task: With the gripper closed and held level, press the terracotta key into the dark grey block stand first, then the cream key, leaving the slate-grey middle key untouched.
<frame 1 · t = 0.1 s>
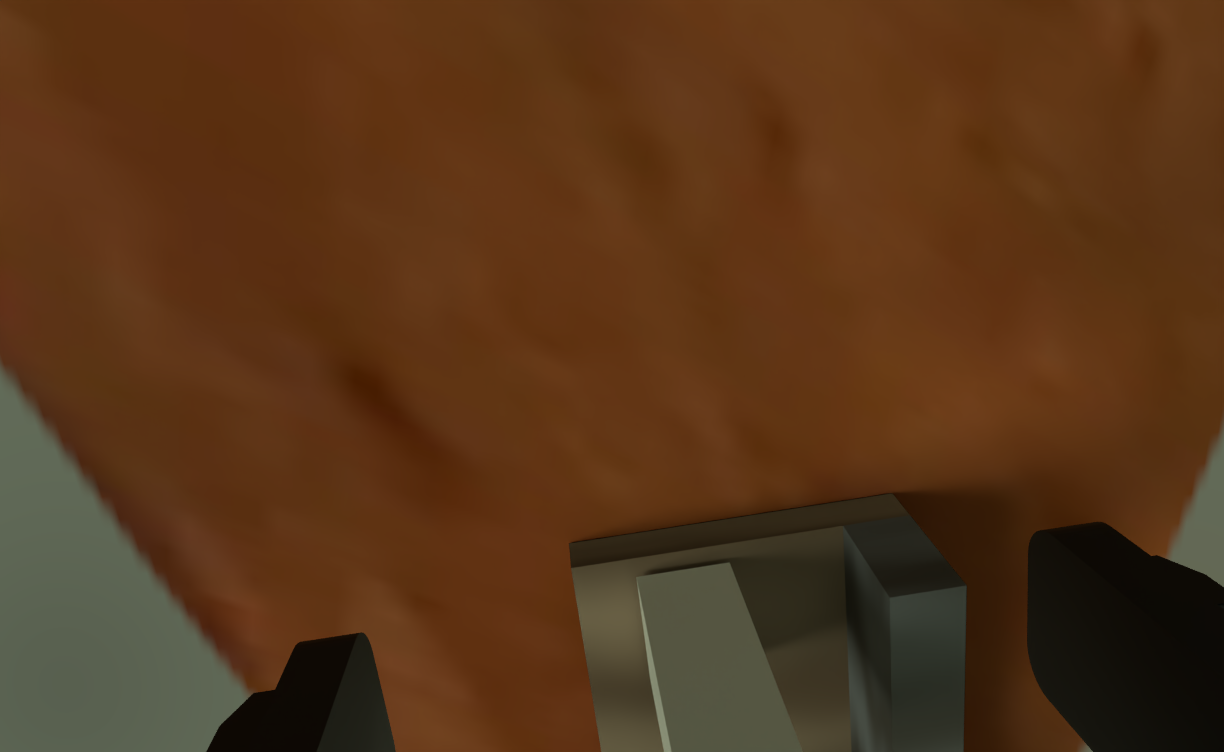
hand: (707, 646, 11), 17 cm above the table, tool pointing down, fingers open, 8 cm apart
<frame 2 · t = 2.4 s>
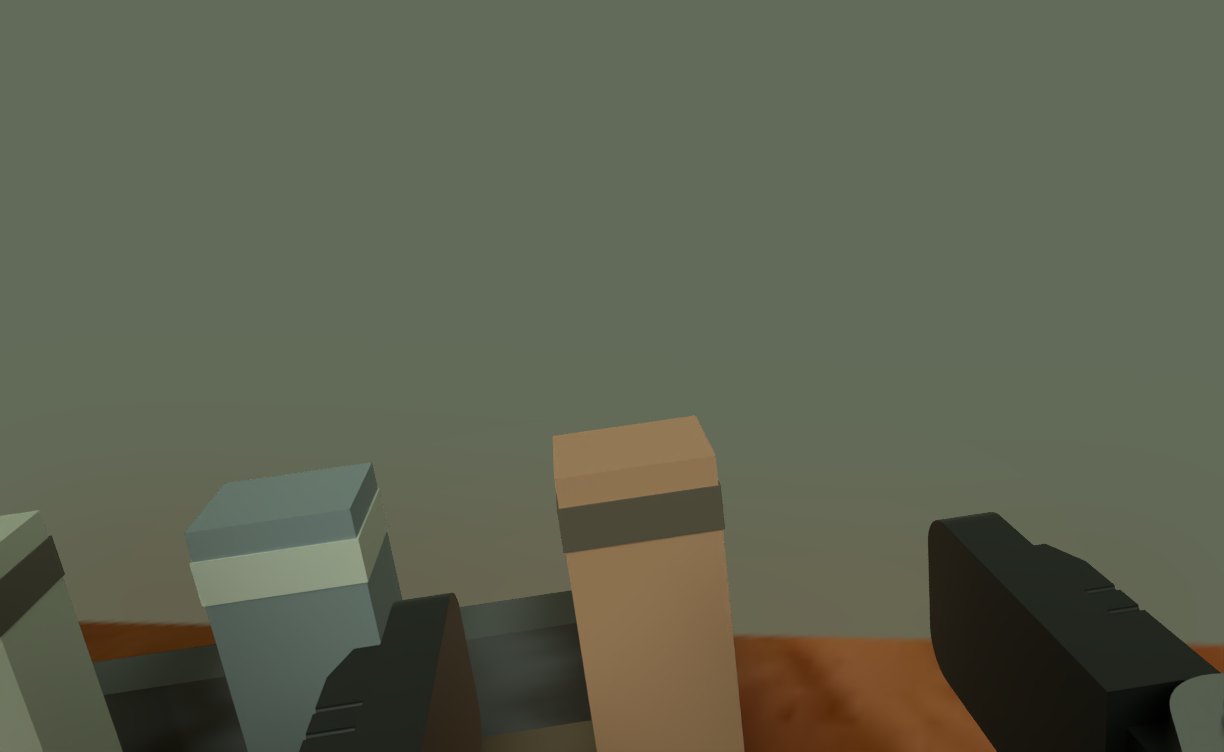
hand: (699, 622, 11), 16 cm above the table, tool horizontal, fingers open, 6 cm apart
terracotta key: (654, 642, 25), point 8 cm above the table, slide at 0.0 cm
slate key: (333, 692, 25), point 8 cm above the table, slide at 0.0 cm
cream key: (4, 742, 25), point 8 cm above the table, slide at 0.0 cm
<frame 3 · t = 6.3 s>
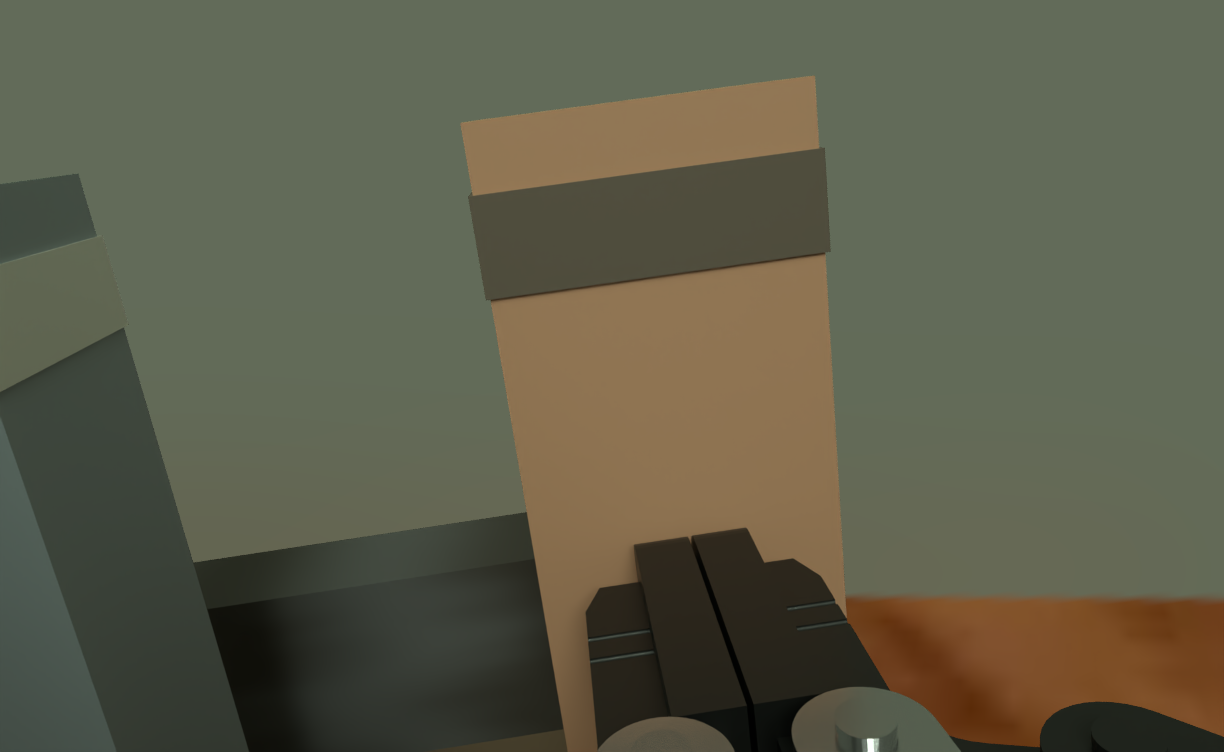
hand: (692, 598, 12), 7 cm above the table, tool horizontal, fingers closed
terracotta key: (676, 524, 13), point 8 cm above the table, slide at 1.3 cm, touching gripper
slate key: (3, 673, 12), point 8 cm above the table, slide at 0.0 cm
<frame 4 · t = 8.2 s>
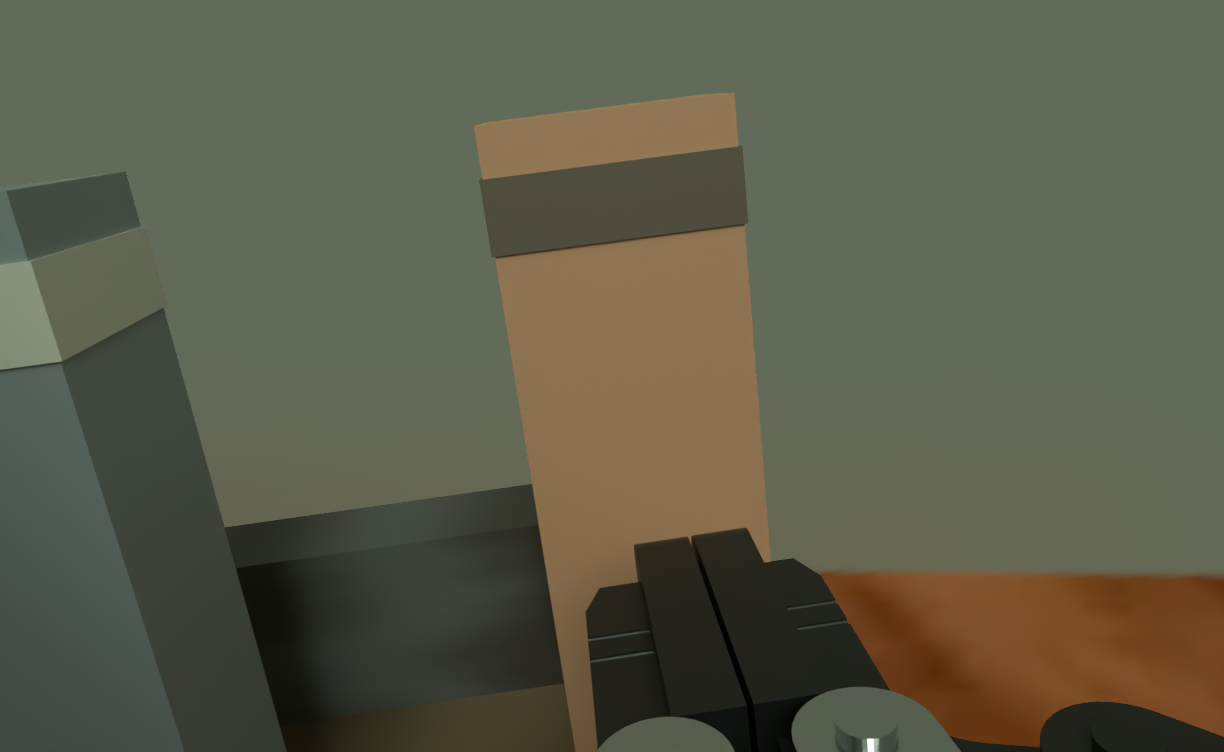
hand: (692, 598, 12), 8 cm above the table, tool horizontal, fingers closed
terracotta key: (639, 439, 17), point 8 cm above the table, slide at 3.6 cm
slate key: (58, 610, 13), point 8 cm above the table, slide at 0.0 cm
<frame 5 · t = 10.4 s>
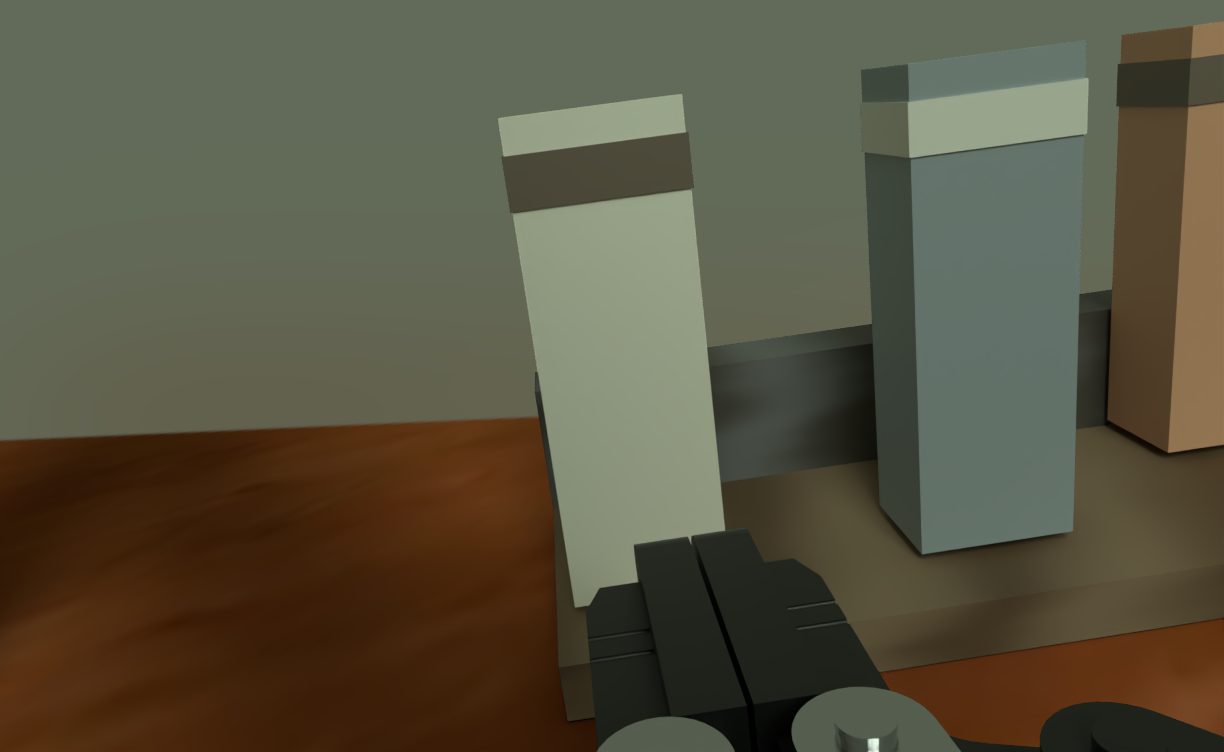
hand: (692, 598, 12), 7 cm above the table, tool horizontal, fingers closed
dark grey block stand: (941, 542, 27), on the table
terracotta key: (1210, 237, 27), point 8 cm above the table, slide at 3.6 cm
slate key: (968, 304, 23), point 8 cm above the table, slide at 0.0 cm
cream key: (618, 354, 23), point 8 cm above the table, slide at 0.0 cm
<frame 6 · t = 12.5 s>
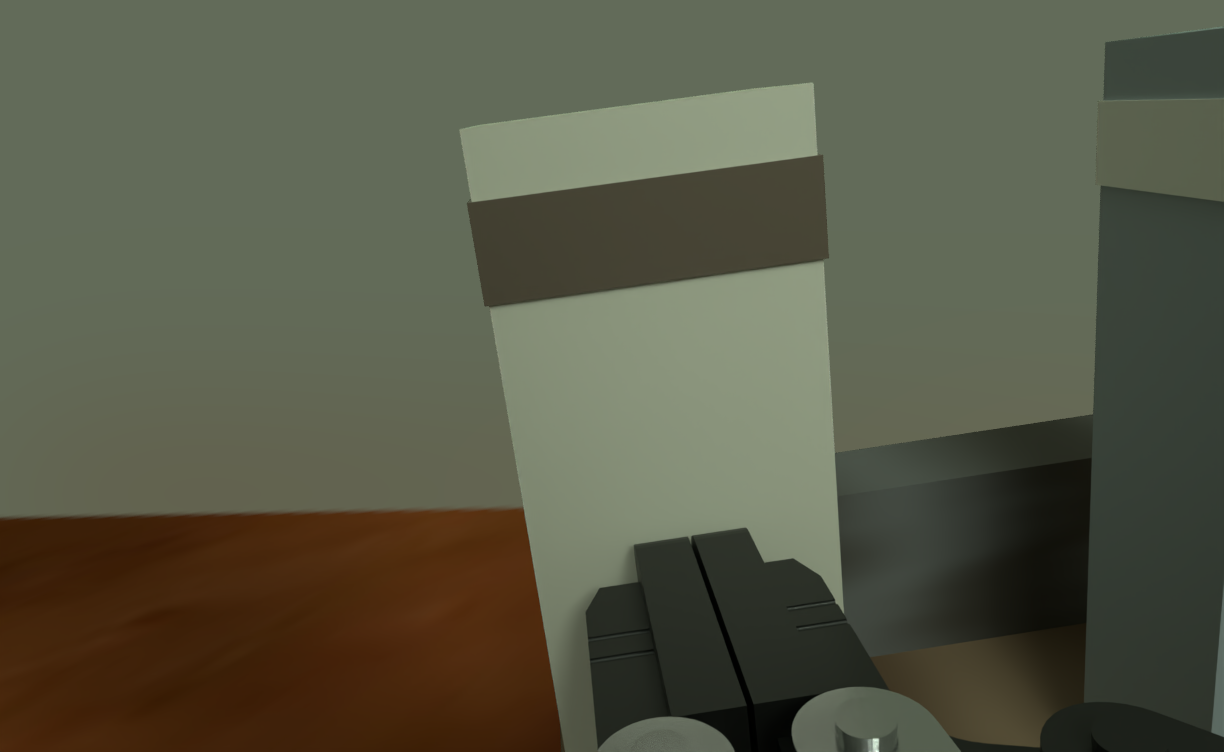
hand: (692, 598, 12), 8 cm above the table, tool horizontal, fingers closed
cream key: (674, 529, 13), point 8 cm above the table, slide at 0.4 cm, touching gripper
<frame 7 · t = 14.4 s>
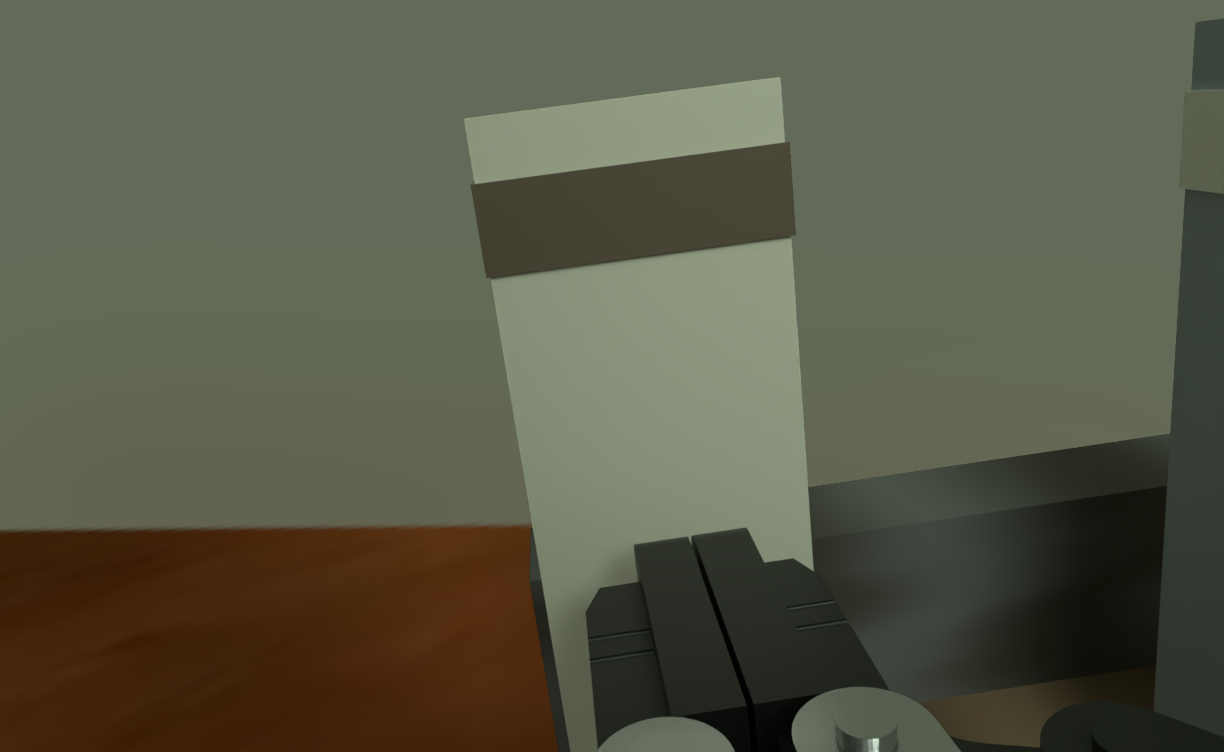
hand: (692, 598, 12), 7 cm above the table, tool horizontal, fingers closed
cream key: (660, 487, 14), point 8 cm above the table, slide at 3.6 cm
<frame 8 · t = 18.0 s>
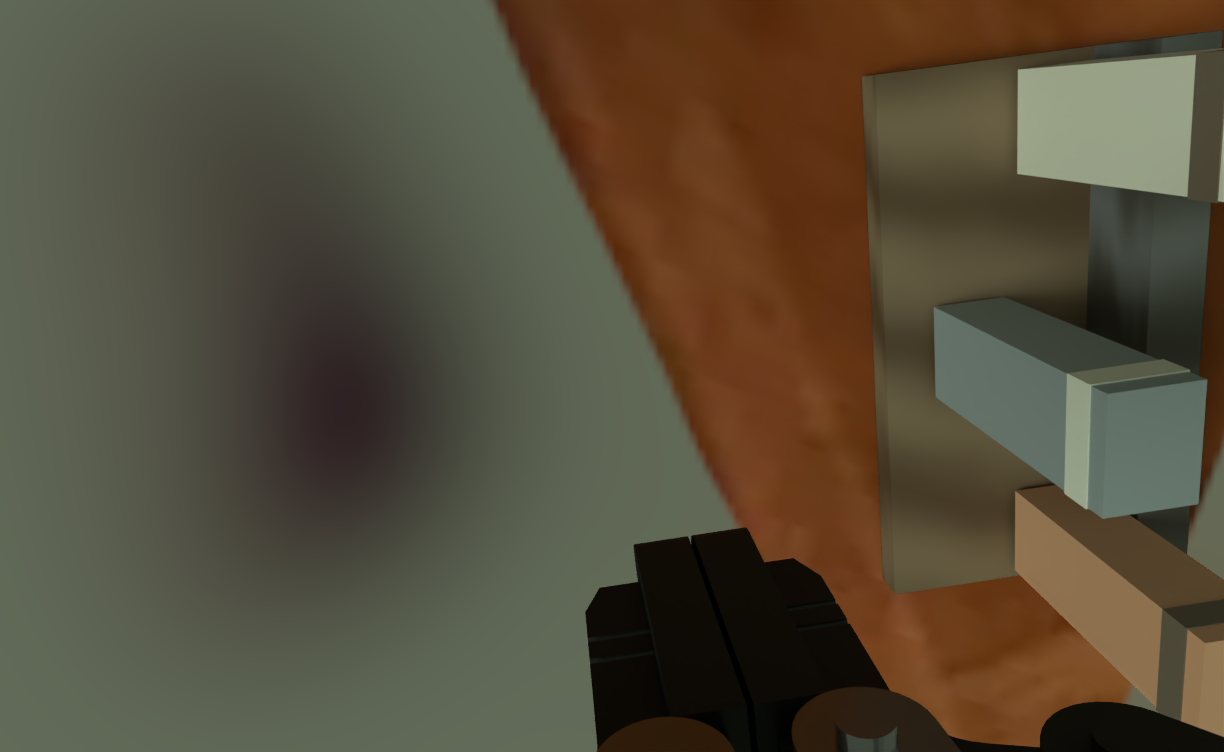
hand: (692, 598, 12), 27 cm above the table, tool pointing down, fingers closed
dark grey block stand: (994, 331, 40), on the table
terracotta key: (1130, 594, 35), point 8 cm above the table, slide at 3.6 cm
slate key: (1045, 389, 32), point 8 cm above the table, slide at 0.0 cm
cream key: (1153, 119, 30), point 8 cm above the table, slide at 3.6 cm
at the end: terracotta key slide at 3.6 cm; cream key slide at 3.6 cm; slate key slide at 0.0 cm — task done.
